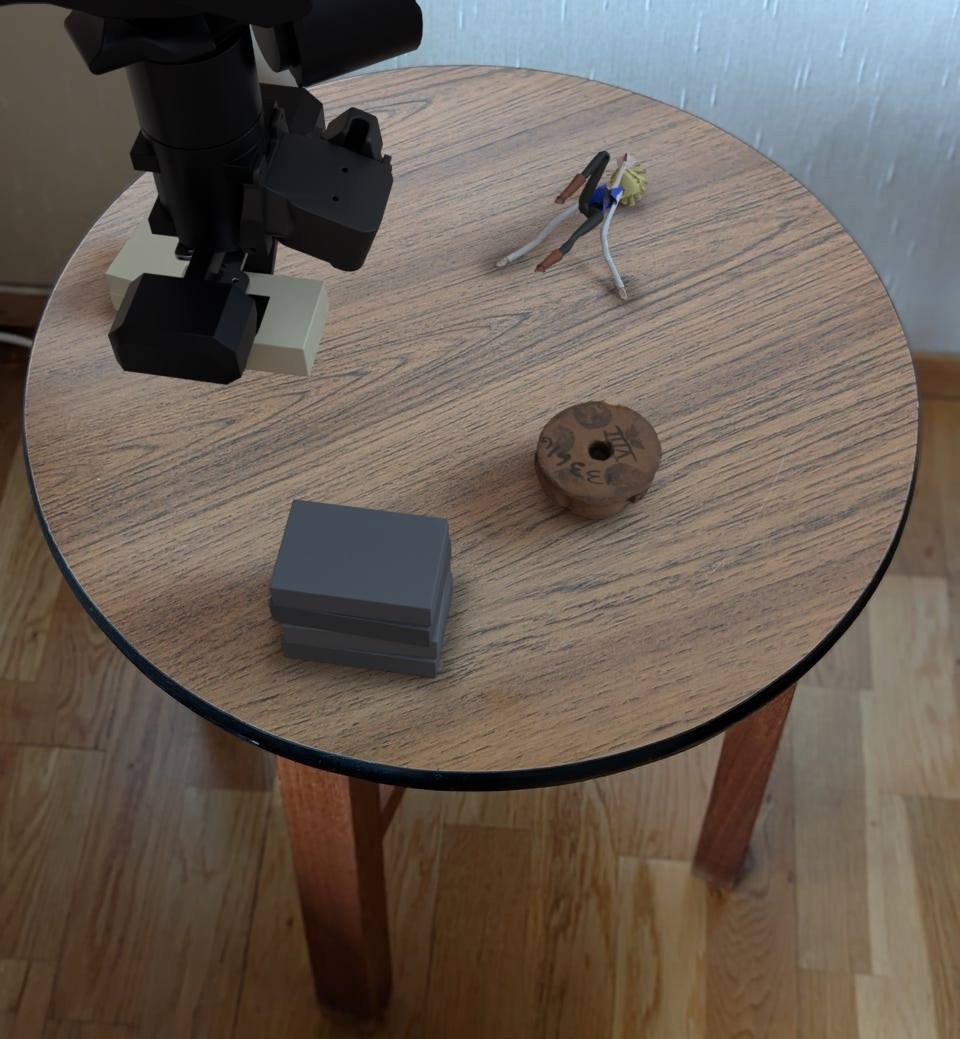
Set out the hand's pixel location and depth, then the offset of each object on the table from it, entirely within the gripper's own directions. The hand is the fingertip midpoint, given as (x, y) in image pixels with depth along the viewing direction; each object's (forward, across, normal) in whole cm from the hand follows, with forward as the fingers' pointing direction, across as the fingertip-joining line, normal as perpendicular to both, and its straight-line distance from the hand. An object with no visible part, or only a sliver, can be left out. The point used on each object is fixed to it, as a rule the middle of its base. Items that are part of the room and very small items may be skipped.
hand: (248, 333), depth 74 cm
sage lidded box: (+13, +14, +11) cm, 22 cm away
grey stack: (+13, -10, -8) cm, 18 cm away
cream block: (0, 0, 0) cm, 0 cm away
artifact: (+13, +2, -20) cm, 24 cm away
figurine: (+13, +22, -18) cm, 31 cm away
